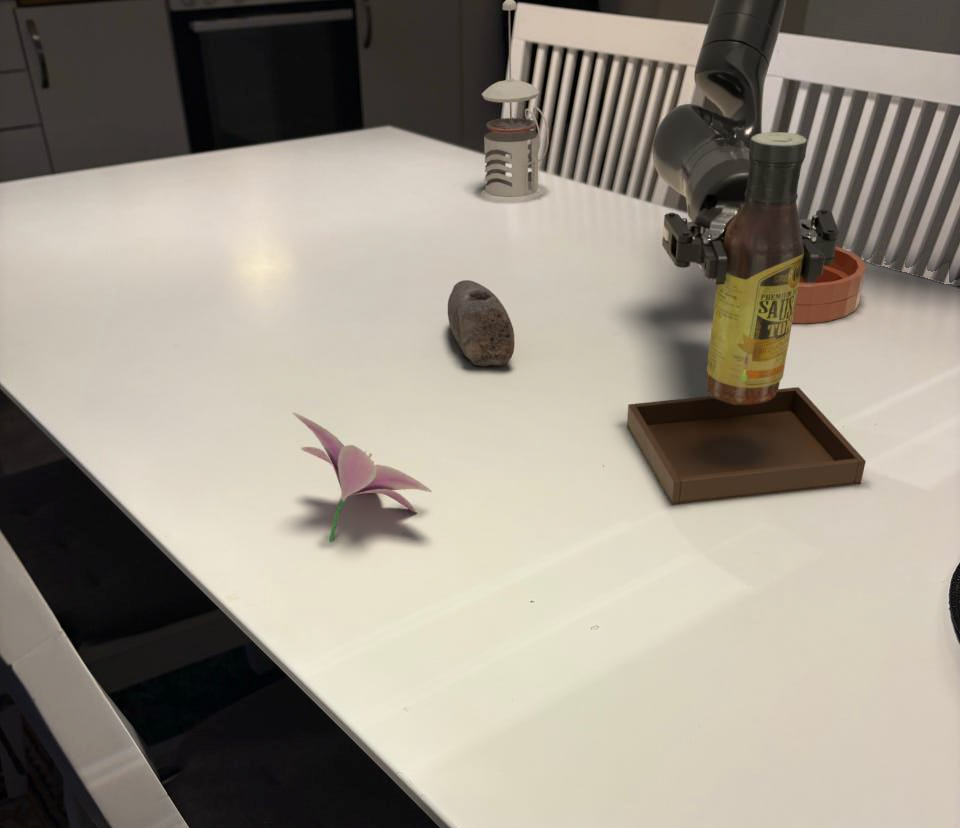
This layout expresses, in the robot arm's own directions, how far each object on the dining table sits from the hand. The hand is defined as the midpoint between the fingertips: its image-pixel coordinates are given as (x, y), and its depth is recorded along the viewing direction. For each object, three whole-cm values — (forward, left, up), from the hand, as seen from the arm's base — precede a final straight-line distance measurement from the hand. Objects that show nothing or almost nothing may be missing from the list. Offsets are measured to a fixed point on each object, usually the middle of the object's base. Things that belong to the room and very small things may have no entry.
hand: (767, 271), depth 79 cm
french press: (+4, -84, -17) cm, 86 cm away
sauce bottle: (0, -3, -11) cm, 12 cm away
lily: (+32, +2, -17) cm, 37 cm away
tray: (-1, -2, -17) cm, 17 cm away
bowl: (-19, -35, -17) cm, 43 cm away
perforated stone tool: (+18, -30, -17) cm, 39 cm away
